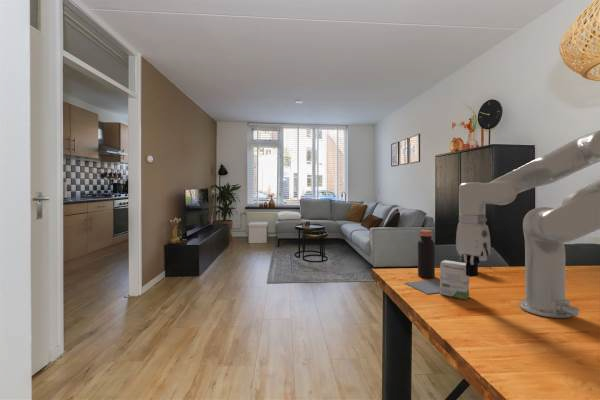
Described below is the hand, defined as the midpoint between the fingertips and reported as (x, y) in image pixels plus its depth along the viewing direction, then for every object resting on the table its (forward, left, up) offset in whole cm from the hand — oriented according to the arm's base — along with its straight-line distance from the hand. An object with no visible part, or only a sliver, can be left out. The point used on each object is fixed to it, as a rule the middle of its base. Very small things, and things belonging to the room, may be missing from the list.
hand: (471, 275), depth 99 cm
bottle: (+32, -7, -9) cm, 34 cm away
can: (+34, -31, -9) cm, 47 cm away
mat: (+19, 0, -9) cm, 21 cm away
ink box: (+8, 0, -9) cm, 12 cm away
